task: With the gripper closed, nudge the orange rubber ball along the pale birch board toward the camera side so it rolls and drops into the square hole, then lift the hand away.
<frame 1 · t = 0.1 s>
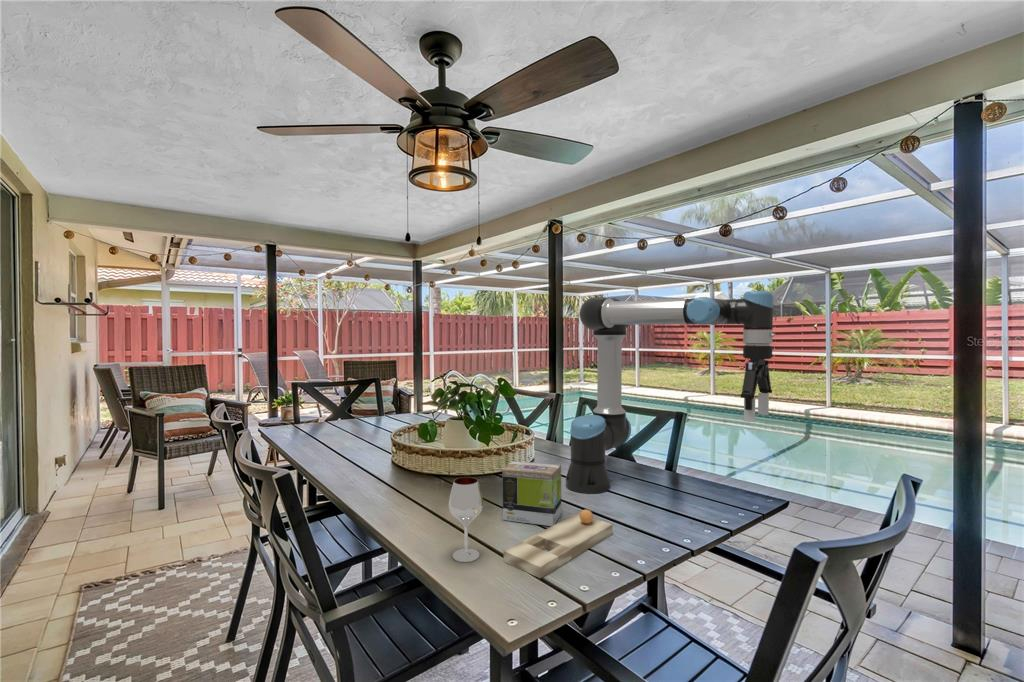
hand: (756, 418, 137), 28 cm above the table, fingers open, 13 cm apart
wineglass: (466, 556, 112), on the table
tea box: (532, 518, 135), on the table
board: (561, 546, 117), on the table
ball: (586, 516, 125), point 4 cm above the table, touching board
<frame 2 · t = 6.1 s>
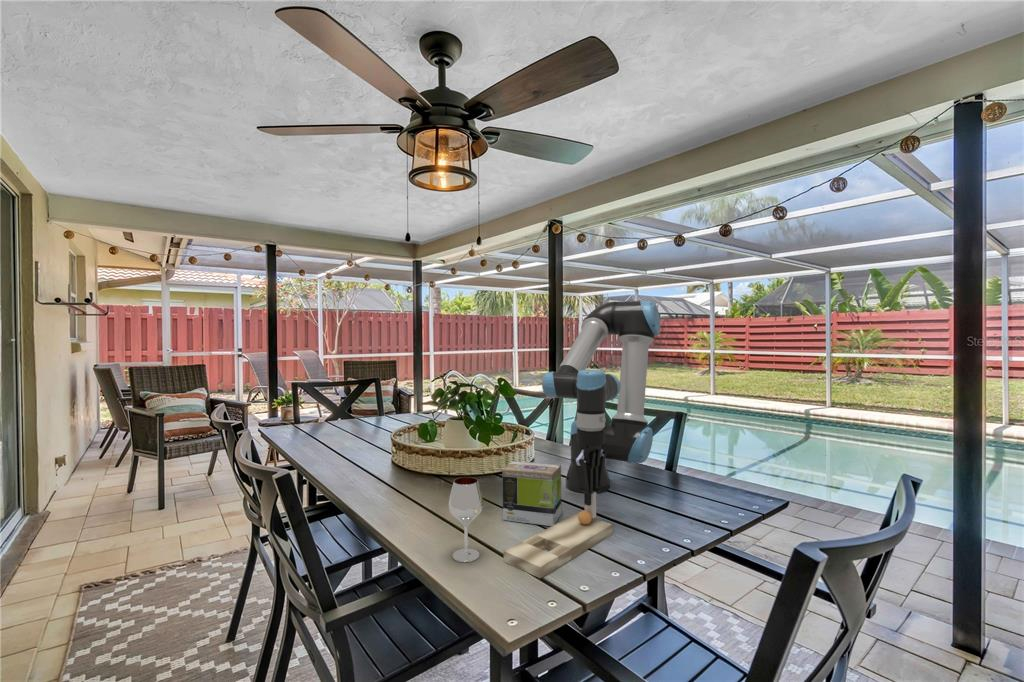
hand: (590, 515, 126), 4 cm above the table, fingers closed
ball: (584, 517, 124), point 4 cm above the table, tilted 20°, touching board
everything else where it was.
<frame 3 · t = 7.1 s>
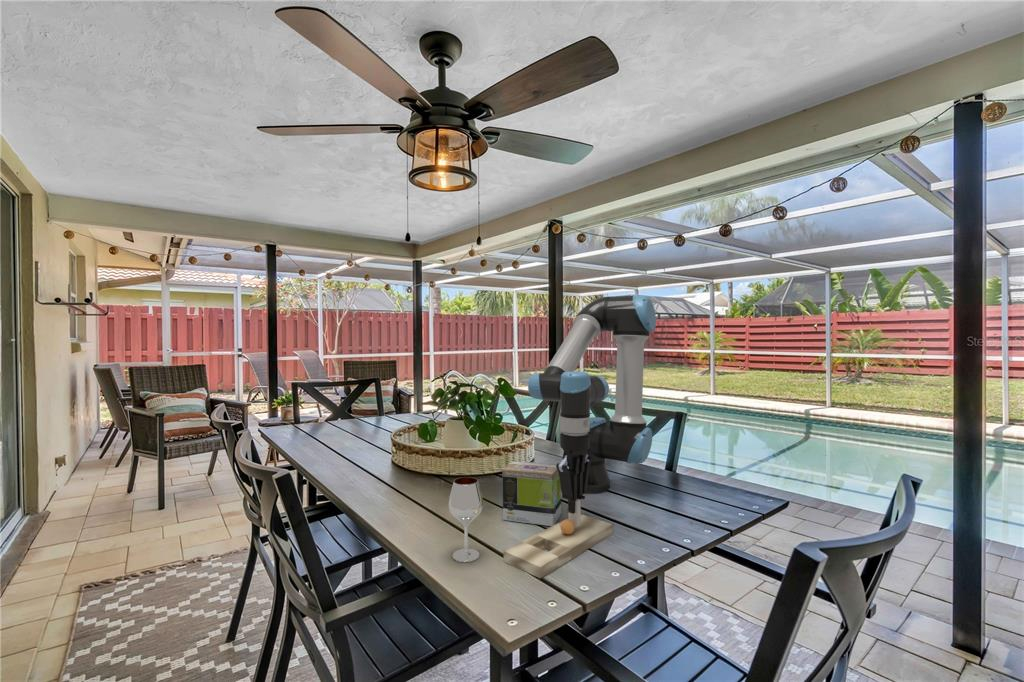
hand: (574, 524, 121), 4 cm above the table, fingers closed
ball: (567, 526, 118), point 4 cm above the table, tilted 81°, touching board
everything else where it was.
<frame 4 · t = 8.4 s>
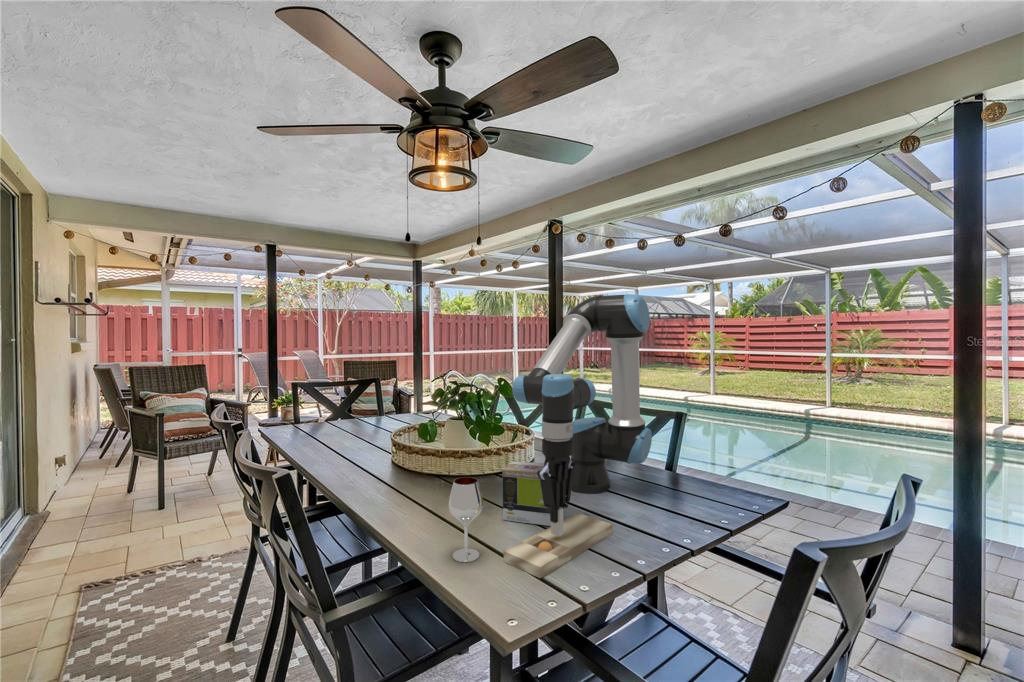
hand: (557, 533, 115), 4 cm above the table, fingers closed
ball: (545, 549, 112), point 2 cm above the table, tilted 118°
everything else where it was.
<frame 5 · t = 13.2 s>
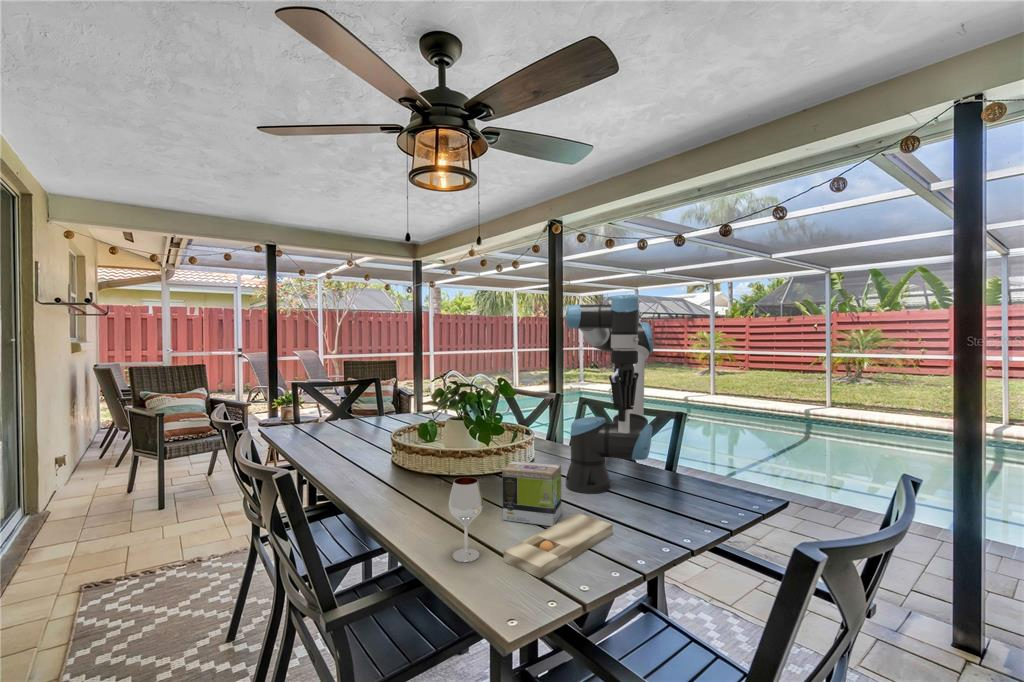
hand: (623, 432, 135), 24 cm above the table, fingers closed
ball: (546, 548, 112), point 2 cm above the table, tilted 137°
everything else where it was.
at the end: ball 0.3 cm from the target spot on the board, point 1.7 cm above the board's base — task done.
